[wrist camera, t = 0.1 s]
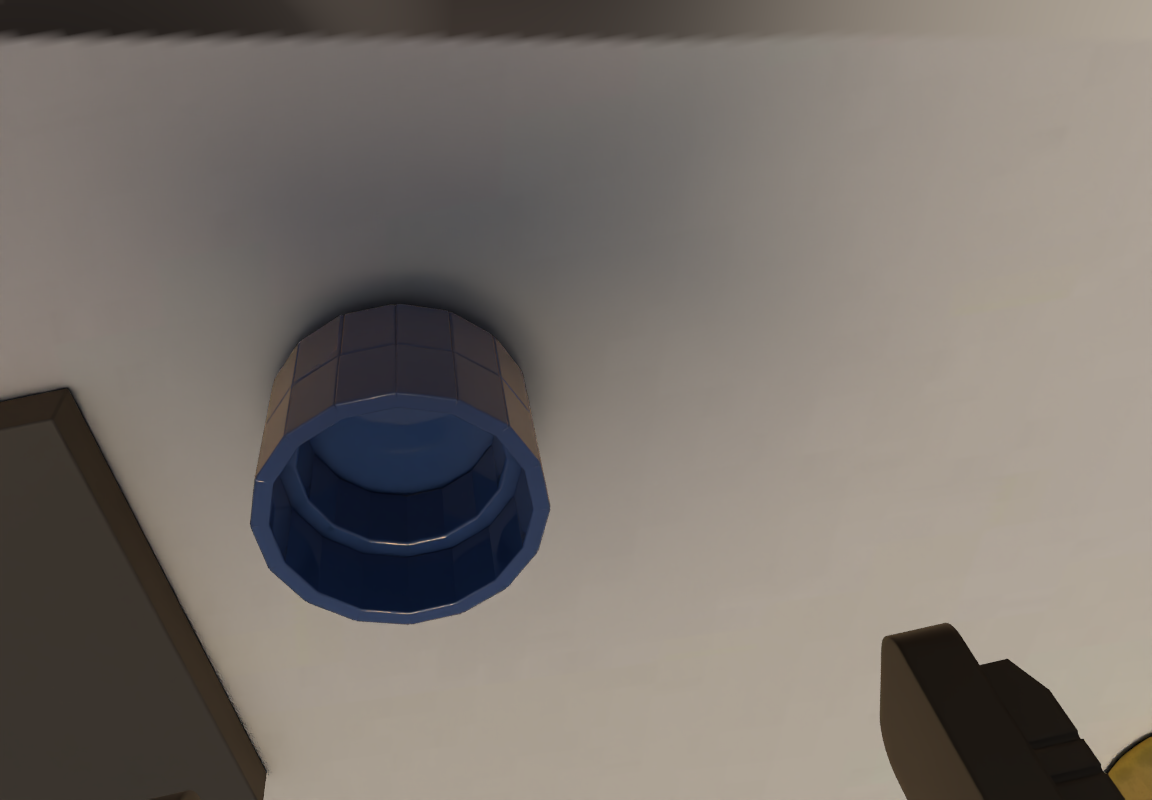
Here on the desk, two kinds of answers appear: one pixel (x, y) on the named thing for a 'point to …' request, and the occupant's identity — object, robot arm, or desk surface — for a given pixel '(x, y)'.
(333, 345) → the bowl
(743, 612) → the desk surface
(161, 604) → the scale
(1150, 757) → the vase
